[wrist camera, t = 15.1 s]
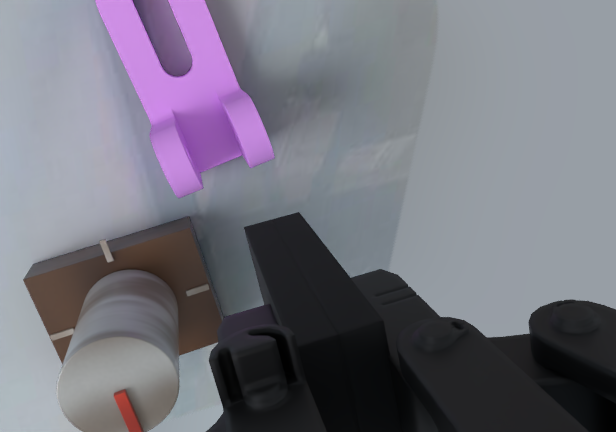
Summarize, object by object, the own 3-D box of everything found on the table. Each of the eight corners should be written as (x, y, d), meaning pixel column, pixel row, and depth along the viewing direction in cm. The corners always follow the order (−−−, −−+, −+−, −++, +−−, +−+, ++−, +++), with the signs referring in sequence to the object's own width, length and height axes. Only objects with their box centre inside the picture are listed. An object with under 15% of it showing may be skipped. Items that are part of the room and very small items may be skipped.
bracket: (260, 142, 37) (279, 164, 30) (178, 176, 36) (180, 206, 30) (174, -71, 32) (174, -100, 26) (79, -36, 32) (55, -56, 25)
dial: (68, 286, 34) (34, 364, 26) (160, 256, 35) (157, 323, 26) (102, 364, 36) (81, 460, 28) (189, 334, 37) (194, 419, 28)
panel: (184, 203, 37) (185, 214, 34) (228, 332, 40) (232, 351, 37) (26, 251, 35) (15, 267, 33) (85, 381, 39) (79, 404, 36)
